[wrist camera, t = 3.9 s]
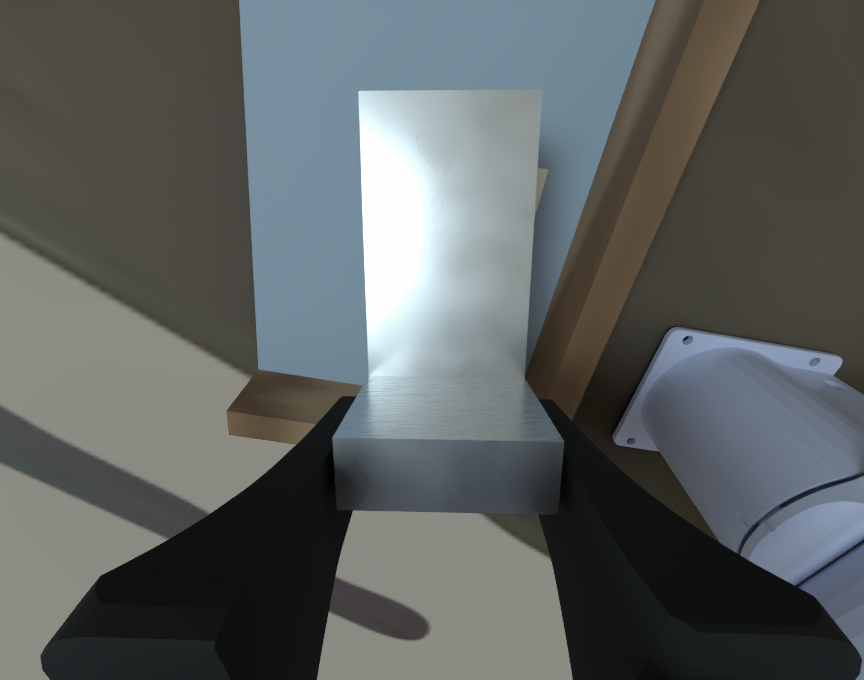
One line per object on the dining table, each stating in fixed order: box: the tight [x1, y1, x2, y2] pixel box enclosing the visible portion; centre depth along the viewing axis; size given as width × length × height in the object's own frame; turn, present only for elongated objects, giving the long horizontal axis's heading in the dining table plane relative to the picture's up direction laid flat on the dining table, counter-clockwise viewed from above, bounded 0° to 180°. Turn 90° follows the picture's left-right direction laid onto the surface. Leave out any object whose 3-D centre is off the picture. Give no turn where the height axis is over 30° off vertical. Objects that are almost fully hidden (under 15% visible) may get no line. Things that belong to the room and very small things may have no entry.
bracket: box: [332, 89, 564, 515], centre depth 11 cm, size 10×5×6 cm, turn 0°
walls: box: [227, 0, 760, 445], centre depth 15 cm, size 16×26×4 cm, turn 170°
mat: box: [239, 0, 655, 386], centre depth 17 cm, size 16×26×1 cm, turn 170°
